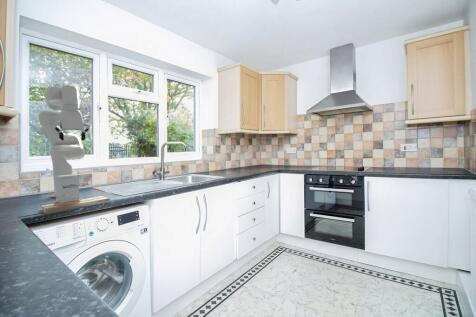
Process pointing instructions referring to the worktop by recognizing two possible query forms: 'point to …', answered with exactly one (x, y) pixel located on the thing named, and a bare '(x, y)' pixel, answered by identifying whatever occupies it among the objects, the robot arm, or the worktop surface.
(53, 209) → the board
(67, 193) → the supplement box
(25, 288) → the worktop surface
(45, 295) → the worktop surface
